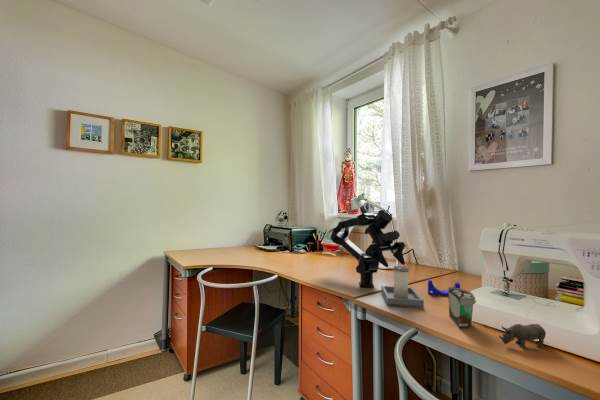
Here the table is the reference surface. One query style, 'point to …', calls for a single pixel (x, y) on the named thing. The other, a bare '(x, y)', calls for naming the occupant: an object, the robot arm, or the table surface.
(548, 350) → the table surface
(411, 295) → the charcoal tray
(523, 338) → the rhino figurine
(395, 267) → the grey round glossy part
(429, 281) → the cable clip
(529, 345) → the table surface
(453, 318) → the food container
